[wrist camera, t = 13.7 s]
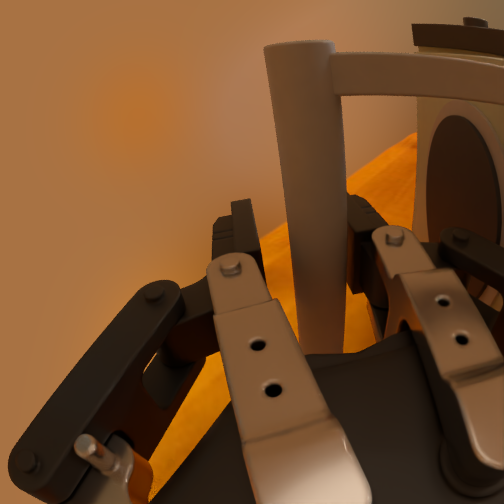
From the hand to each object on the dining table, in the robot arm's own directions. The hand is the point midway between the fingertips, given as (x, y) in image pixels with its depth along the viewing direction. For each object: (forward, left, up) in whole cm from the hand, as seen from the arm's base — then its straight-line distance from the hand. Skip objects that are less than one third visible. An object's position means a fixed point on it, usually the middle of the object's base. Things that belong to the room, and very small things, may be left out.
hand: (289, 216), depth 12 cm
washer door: (-1, -5, -9) cm, 10 cm away
